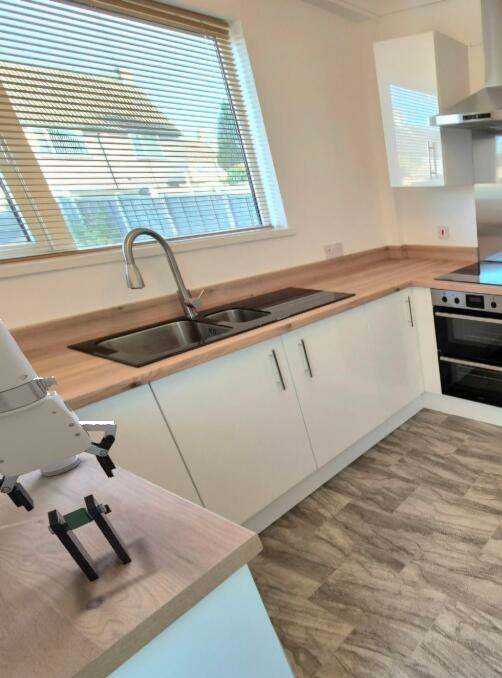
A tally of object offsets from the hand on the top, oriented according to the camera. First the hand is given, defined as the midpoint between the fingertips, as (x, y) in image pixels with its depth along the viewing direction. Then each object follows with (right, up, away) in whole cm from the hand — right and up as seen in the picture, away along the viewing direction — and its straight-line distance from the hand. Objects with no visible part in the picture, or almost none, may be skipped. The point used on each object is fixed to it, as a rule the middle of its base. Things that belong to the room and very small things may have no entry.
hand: (72, 489), depth 69 cm
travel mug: (-29, -2, +26) cm, 39 cm away
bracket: (+7, -13, -1) cm, 15 cm away
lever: (+4, -5, -2) cm, 7 cm away
